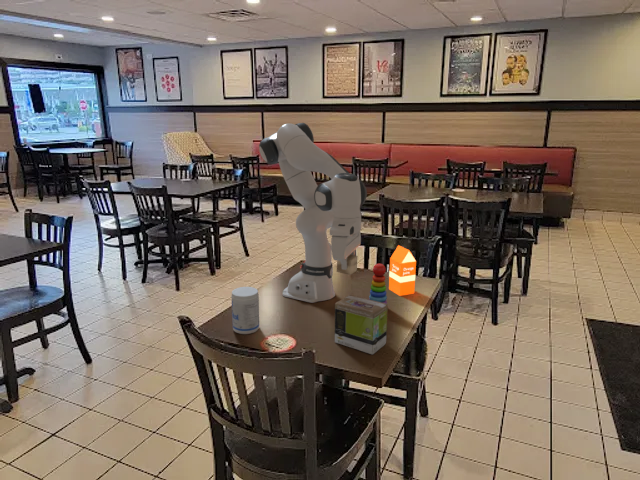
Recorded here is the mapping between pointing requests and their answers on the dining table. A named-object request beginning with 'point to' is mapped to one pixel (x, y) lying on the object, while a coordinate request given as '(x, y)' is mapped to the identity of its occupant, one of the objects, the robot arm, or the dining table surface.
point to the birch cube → (351, 265)
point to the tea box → (361, 323)
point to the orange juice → (402, 272)
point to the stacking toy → (378, 284)
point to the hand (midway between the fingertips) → (347, 265)
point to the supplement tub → (245, 310)
